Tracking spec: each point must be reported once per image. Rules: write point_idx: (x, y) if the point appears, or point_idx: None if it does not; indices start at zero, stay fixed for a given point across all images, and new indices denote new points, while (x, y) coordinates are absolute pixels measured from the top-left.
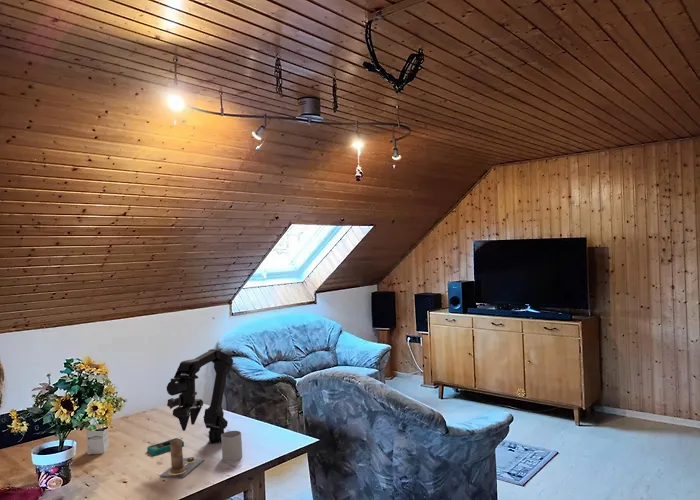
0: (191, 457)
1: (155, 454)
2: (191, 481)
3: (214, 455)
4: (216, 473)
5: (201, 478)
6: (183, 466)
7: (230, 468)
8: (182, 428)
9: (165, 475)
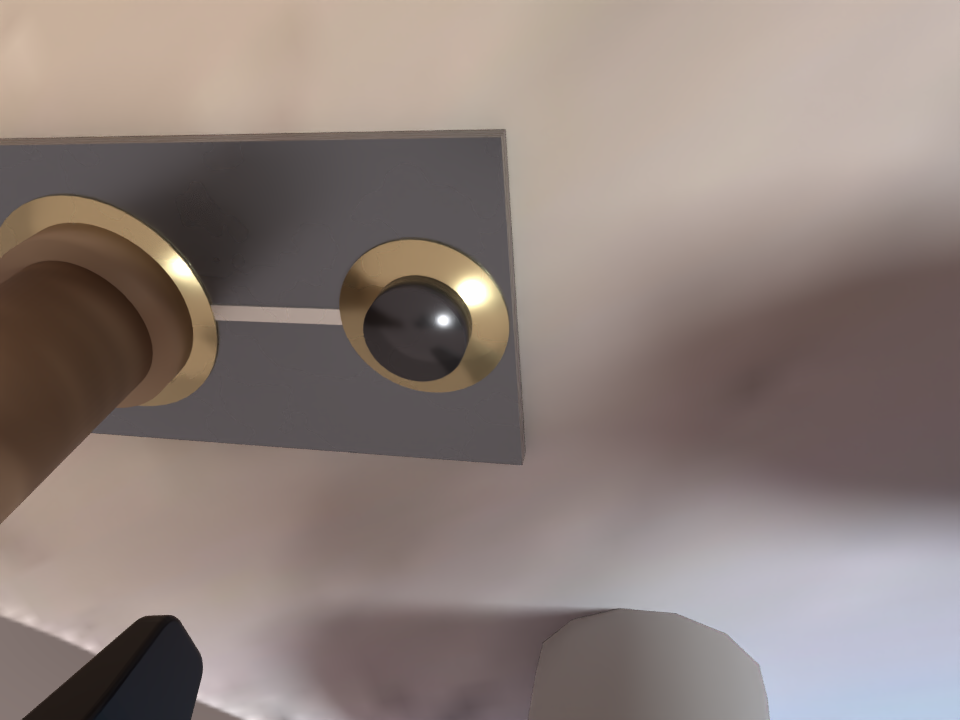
0: (449, 337)
1: None
2: (54, 513)
3: (700, 510)
4: (272, 643)
5: (140, 567)
6: (146, 383)
7: (398, 711)
8: (85, 686)
9: None
